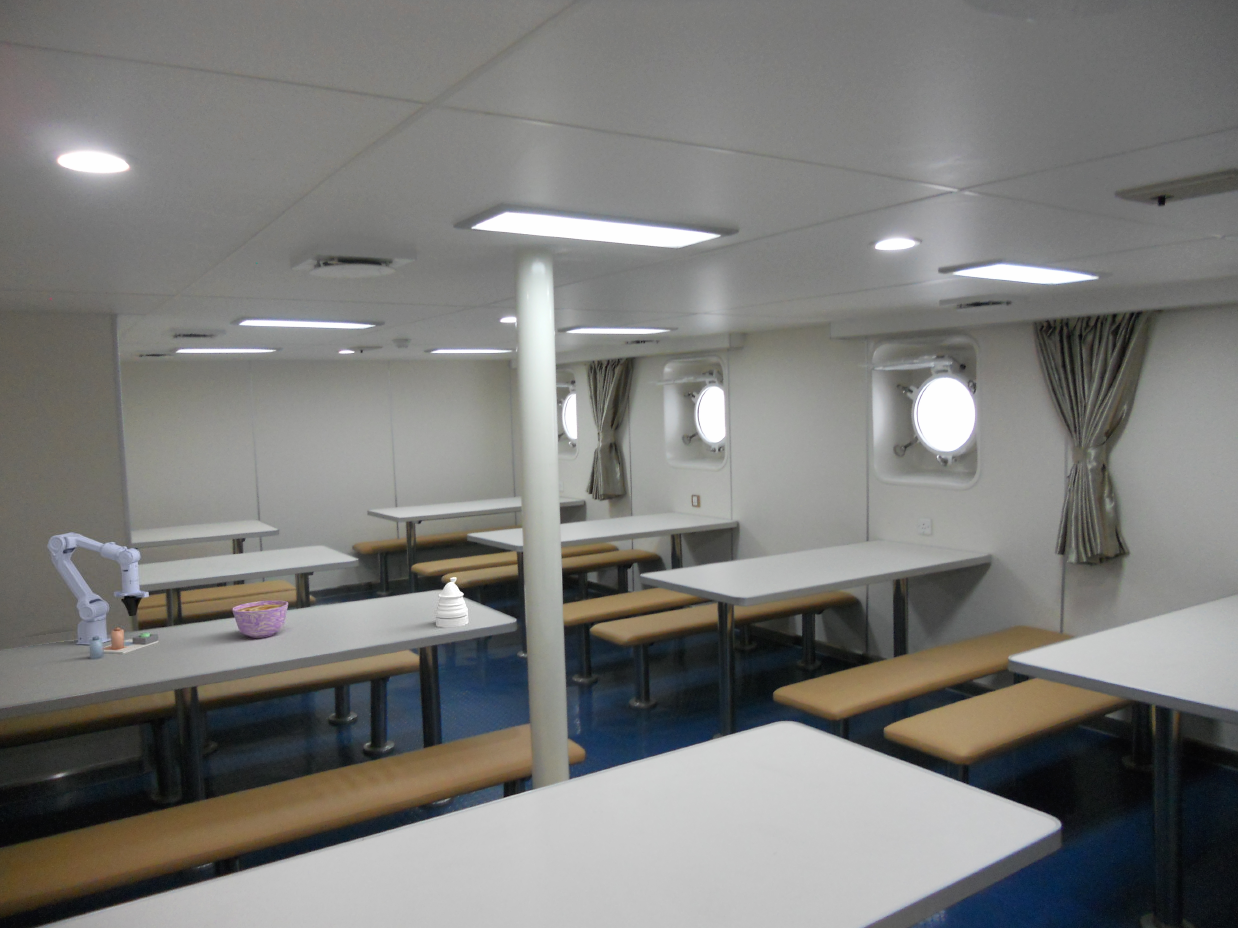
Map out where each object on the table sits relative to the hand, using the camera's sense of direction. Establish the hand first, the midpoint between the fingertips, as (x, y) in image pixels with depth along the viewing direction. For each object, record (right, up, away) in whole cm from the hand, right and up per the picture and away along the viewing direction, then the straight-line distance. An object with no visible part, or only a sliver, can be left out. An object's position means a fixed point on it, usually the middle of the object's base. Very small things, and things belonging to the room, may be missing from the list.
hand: (132, 615), depth 319 cm
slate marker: (0, -11, -22) cm, 25 cm away
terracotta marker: (+2, -10, -13) cm, 16 cm away
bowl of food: (+49, -8, +3) cm, 49 cm away
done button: (+8, -9, -5) cm, 13 cm away
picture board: (+3, -10, -8) cm, 14 cm away
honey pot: (+121, -6, +12) cm, 121 cm away
